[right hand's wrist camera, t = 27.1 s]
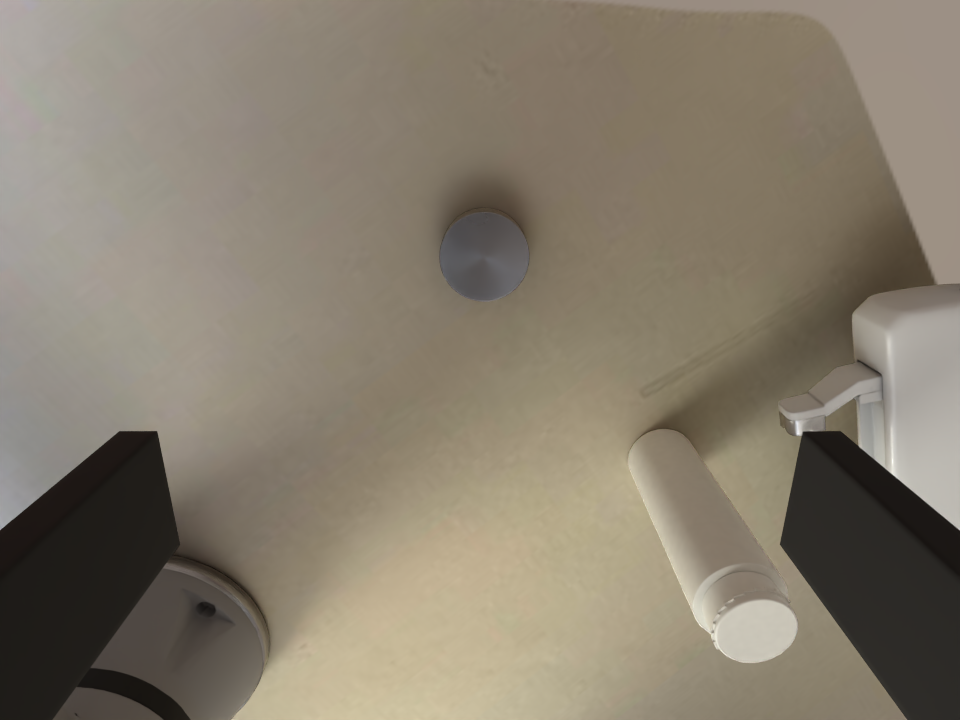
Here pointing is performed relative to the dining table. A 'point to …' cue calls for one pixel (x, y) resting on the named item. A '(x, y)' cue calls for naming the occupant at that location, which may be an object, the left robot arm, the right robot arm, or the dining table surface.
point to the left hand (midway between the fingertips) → (790, 490)
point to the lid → (484, 254)
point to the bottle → (712, 550)
